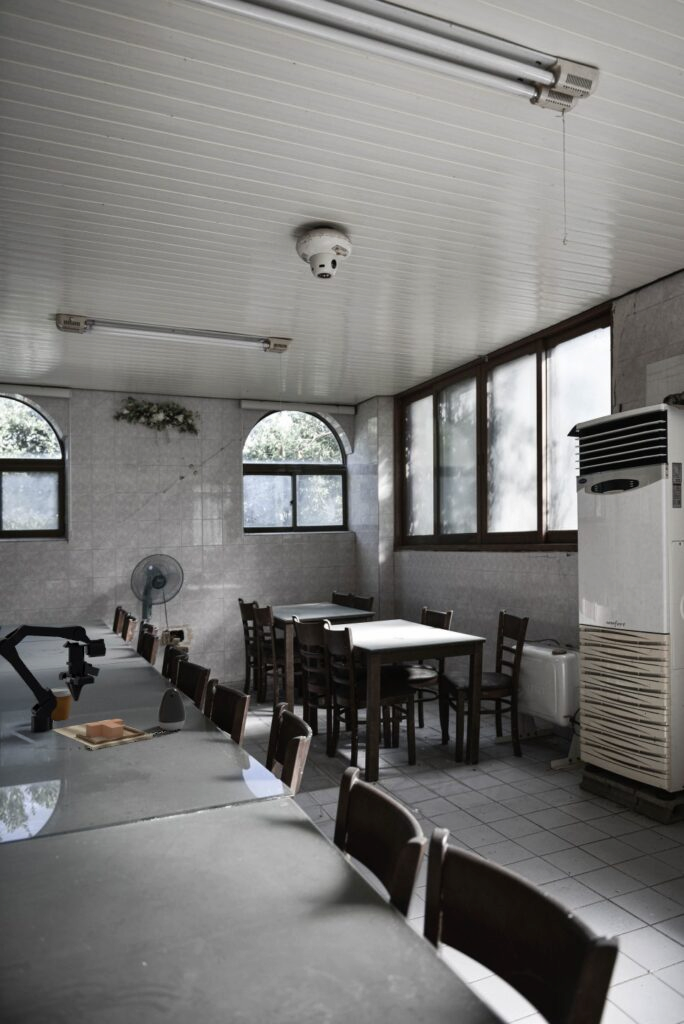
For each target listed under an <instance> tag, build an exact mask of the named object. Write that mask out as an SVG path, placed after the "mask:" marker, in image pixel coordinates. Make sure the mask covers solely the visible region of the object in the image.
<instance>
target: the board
mask: <svg viewBox="0 0 684 1024" xmlns="http://www.w3.org/2000/svg"><path fill="white" fill-rule="evenodd" d="M107 720H108V719H105V720H100V721H93V722H89V723H81V724H76V725H70V726H65V727H60V728H55V729H54V728H53V729H52V731H54V732H56V733H58V734H61V735H63V736H65V737H67V738H70V739H71V740H74V741H77V742H79V743H81V744H84V746H85V747H84V748H86V747H87V748H86V749H88V748H90V749H89V750H91V749H92V750H91V751H94V750H93V749H96V750H100V749H99V748H101V749H106V748H110V746H111V747H114V746H115V745H116V746H120V744H121V745H125V743H126V744H130V742H131V743H135V741H136V742H139V741H144V740H149V739H153V738H154V736H153V734H151V733H149V732H145V731H142V730H139V729H137V728H133V727H130V726H127V725H125V724H123V736H121V737H116V738H110V739H109V738H106V737H104V736H98V737H93V738H90V737H88V736H86V724H91V723H96V722H102V721H107ZM116 746H115V747H116ZM105 747H106V748H105Z"/></svg>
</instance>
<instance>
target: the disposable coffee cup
mask: <svg viewBox="0 0 684 1024" xmlns="http://www.w3.org/2000/svg"><path fill="white" fill-rule="evenodd" d="M50 689H51V690H52V692H53V694H54V695H55V696H56V697H57V698H55V699H56V700H57V707H56V708H55V710H53V712H52V714H51V715H52V719H53V720H54V721H57V722H60V721H61V720H62V721H67V720H66V719H68V718H69V719H70V711H71V704H72V699H73V697H72V695H71V693H70V691H69V689H68V687H67V686H66V687H65V686H63V687H55V688H50ZM69 719H68V720H69Z"/></svg>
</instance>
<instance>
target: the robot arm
mask: <svg viewBox="0 0 684 1024" xmlns="http://www.w3.org/2000/svg"><path fill="white" fill-rule="evenodd" d="M28 636H29V637H48V638H61V639H65V640H67V641H66V642H65V643H64V644H63V645H62V647H63V648H64V649H68V655H67V657H68V660H67V661H66V663H65V664H66V665H67V666H68V667H67V670H65V671H60V673H59V674H58V680H59V681H64V680H65V679H66V681H65V682H64V684H65V685H66V687H68V689H69V691H70V693H71V695H72V700H73V701H74V702H78V701H79V700H80V695H81V692H82V689H83V687H84V686H86V685H91V684H95V677H98V676H99V674H100V670H101V668H100V667H99V668H98V667H96V666H93V664H92V663H91V662H90V663H89V662H87V661H86V659H85V656H88V657H87V658H100V657H101V658H102V657H105V656H106V654H107V648H106V643H105V639H104V638H98V639H91V638H90V637H89V635H87V630H86V628H85V627H84V626H83V625H82V626H81V625H79V624H68V625H63V626H51V625H49V626H47V625H34V624H33V625H31V624H29V625H28V624H24V623H23V624H20V625H18V627H17V628H15V629H14V630H12V631H10V632H9V633H7V635H5V636H3V637H0V656H1V657H2V658H3V659H4V660H6V662H8V663H9V664H10V666H11V667H12V668H13V670H14V671H15V672H16V673H17V675H18V676H19V677H20V679H21V680H22V681H23V683H24V684H25V685H26V687H28V689H29V690H30V692H31V694H32V696H33V698H34V701H35V704H34V705H33V706H32V707H31V708H30V712H31V714H32V715H31V716H30V731H31V732H32V733H33V734H34V733H35V734H36V733H44V732H49V731H53V729H54V722H53V719H52V715H51V714H52V712H53V710H55V708H56V707H57V700H56V699H55V698H57V697H56V696H55V695H54V694H53V692H52V690H51V689H52V688H50V687H48V686H45V688H44V687H43V686H42V685H41V684H40V682H39V681H38V679H37V678H36V677H35V675H34V674H33V673H32V671H30V669H29V667H28V666H27V665H26V663H24V661H23V660H22V659H21V657H20V655H19V652H18V650H17V646H18V645H19V644H20V642H22V641H23V640H24V639H25V638H26V637H28ZM71 641H75V642H71ZM80 642H81V644H80ZM82 643H83V644H82Z"/></svg>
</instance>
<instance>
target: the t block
mask: <svg viewBox="0 0 684 1024" xmlns="http://www.w3.org/2000/svg"><path fill="white" fill-rule="evenodd" d="M106 720H107V721H104V720H101V721H102V722H98V721H95V722H96V723H93V722H90V723H91V724H87V723H85V724H86V736H88V737H90V738H93V737H98V736H104V737H106V738H109V739H110V738H116V737H121V736H123V725H124V720H123V719H120V718H114V719H106Z"/></svg>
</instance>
